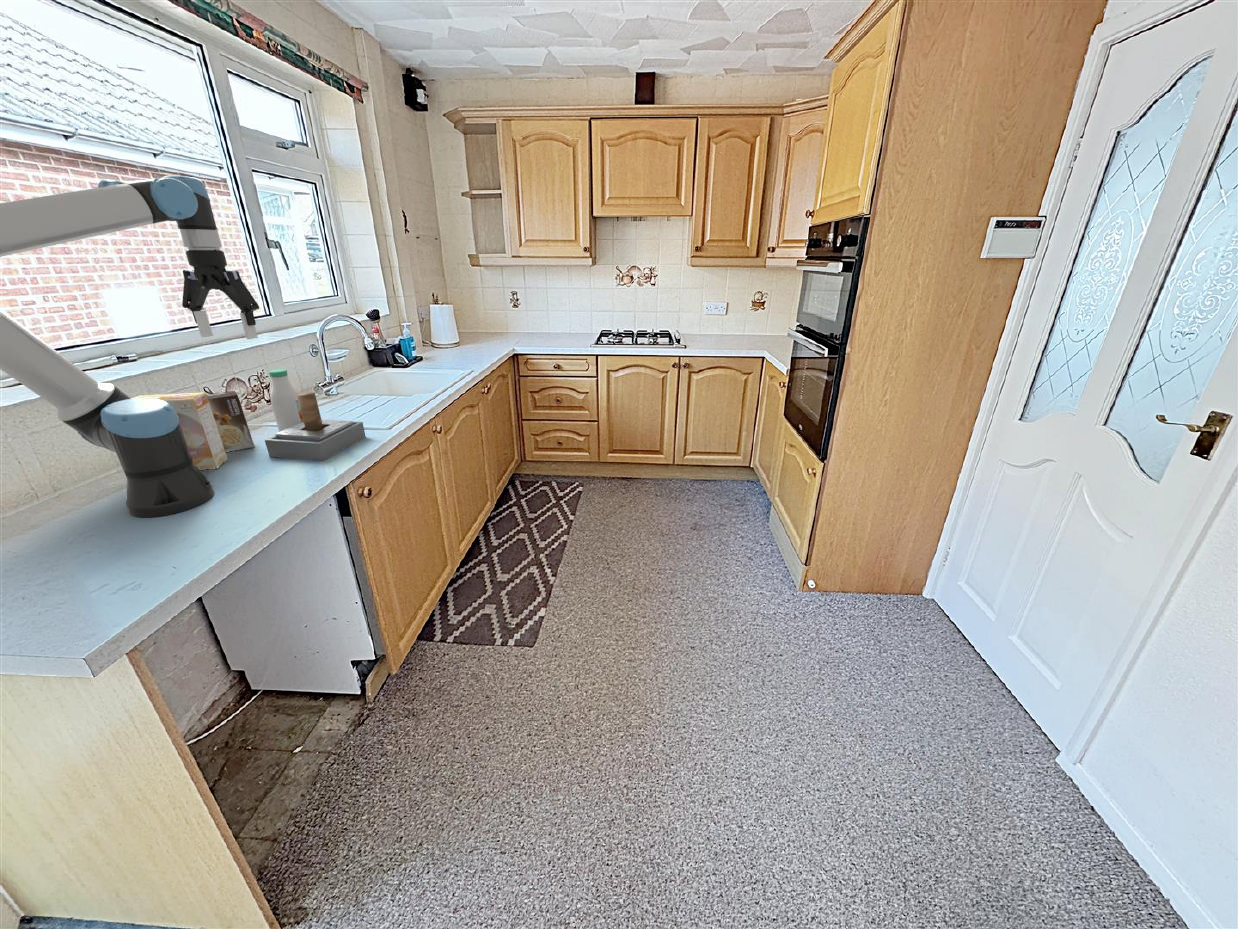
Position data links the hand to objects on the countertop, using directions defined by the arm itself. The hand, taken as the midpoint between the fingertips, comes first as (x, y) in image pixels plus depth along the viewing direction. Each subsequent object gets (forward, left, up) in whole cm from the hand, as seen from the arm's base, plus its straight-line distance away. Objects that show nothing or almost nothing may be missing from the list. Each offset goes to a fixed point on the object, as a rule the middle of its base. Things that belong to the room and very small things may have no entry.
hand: (229, 337), depth 131 cm
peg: (+7, -12, -32) cm, 34 cm away
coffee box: (+2, +11, -33) cm, 35 cm away
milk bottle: (+17, +4, -33) cm, 37 cm away
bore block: (+7, -12, -33) cm, 36 cm away
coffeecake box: (-12, +11, -33) cm, 37 cm away
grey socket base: (+7, -12, -33) cm, 36 cm away
